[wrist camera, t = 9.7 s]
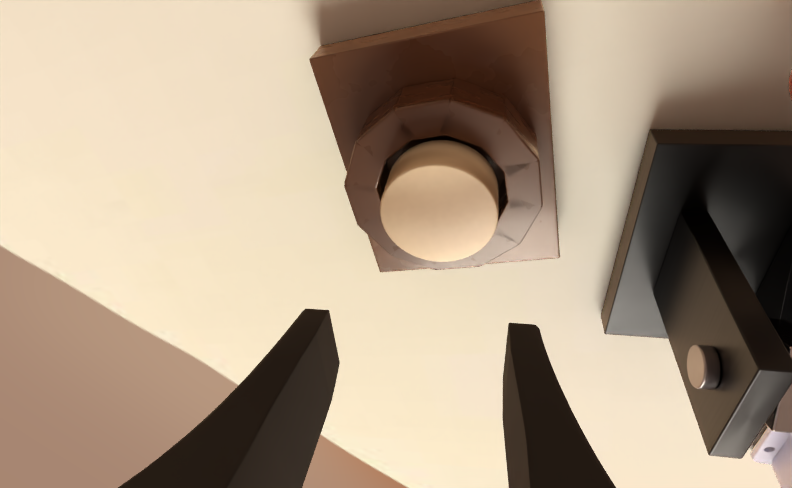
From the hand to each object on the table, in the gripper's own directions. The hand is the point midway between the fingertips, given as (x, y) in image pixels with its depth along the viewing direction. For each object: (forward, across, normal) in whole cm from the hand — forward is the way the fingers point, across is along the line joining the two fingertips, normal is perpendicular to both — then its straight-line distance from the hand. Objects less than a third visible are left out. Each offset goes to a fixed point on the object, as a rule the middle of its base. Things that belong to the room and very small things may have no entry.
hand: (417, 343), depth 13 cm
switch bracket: (+10, -12, +4) cm, 16 cm away
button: (+7, 0, 0) cm, 7 cm away
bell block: (+10, 0, 0) cm, 10 cm away
